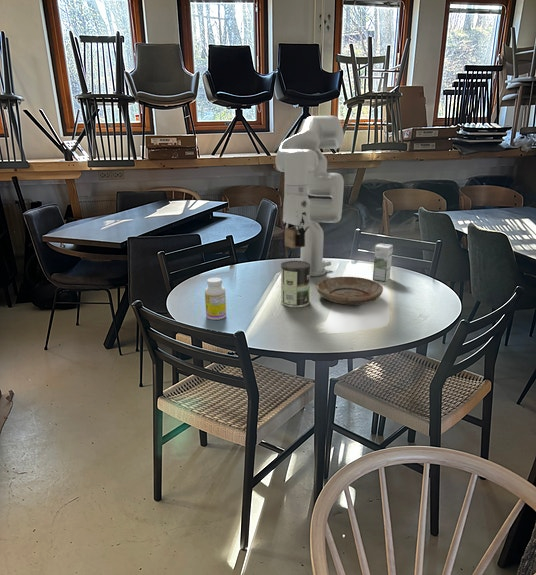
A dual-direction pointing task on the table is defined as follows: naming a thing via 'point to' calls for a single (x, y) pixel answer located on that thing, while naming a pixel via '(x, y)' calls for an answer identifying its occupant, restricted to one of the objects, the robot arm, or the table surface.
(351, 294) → the wooden plate
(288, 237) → the walnut block
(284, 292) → the coffee can
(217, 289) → the supplement bottle
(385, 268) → the syrup box
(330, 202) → the robot arm
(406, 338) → the table surface
